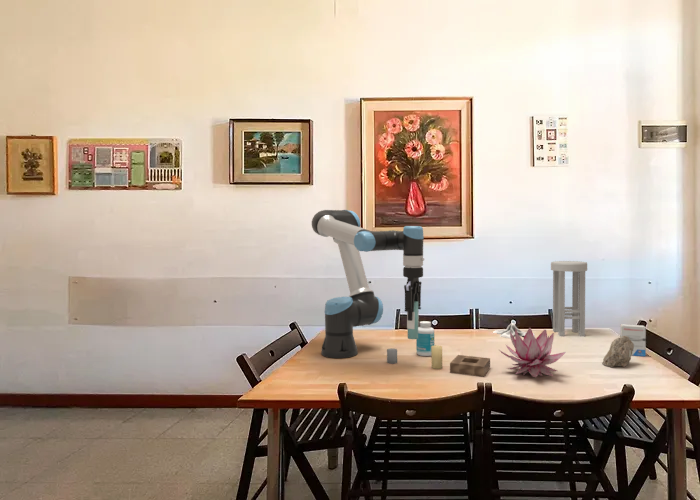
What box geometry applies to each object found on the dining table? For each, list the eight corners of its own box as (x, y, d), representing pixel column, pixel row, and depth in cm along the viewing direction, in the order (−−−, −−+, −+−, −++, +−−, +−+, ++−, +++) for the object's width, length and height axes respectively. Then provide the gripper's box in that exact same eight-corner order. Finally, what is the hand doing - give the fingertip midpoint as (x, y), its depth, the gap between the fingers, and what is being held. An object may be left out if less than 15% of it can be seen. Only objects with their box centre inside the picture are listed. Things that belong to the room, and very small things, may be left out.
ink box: (643, 353, 191) (644, 325, 191) (645, 356, 187) (646, 327, 186) (619, 351, 195) (620, 323, 194) (621, 354, 190) (621, 325, 190)
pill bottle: (434, 357, 191) (434, 324, 190) (415, 356, 192) (415, 323, 192) (434, 352, 198) (434, 320, 198) (417, 351, 200) (416, 320, 199)
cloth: (543, 338, 222) (543, 325, 222) (507, 341, 218) (507, 328, 218) (516, 329, 244) (516, 317, 243) (483, 331, 240) (483, 319, 239)
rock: (627, 354, 167) (604, 343, 173) (619, 377, 172) (597, 366, 177) (642, 340, 175) (620, 330, 181) (634, 362, 180) (612, 352, 185)
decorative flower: (559, 387, 153) (559, 341, 152) (493, 377, 164) (493, 334, 164) (568, 369, 171) (568, 328, 170) (508, 362, 182) (508, 323, 182)
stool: (547, 330, 238) (547, 261, 236) (579, 330, 236) (580, 260, 234) (556, 336, 222) (556, 263, 221) (591, 337, 220) (591, 263, 219)
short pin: (385, 363, 184) (385, 350, 183) (389, 360, 187) (389, 348, 187) (395, 364, 182) (394, 351, 181) (398, 361, 185) (398, 349, 185)
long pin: (406, 338, 179) (406, 302, 179) (409, 336, 183) (409, 300, 182) (416, 339, 178) (416, 303, 177) (419, 337, 181) (419, 301, 180)
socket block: (450, 372, 170) (449, 362, 170) (458, 363, 181) (458, 354, 181) (483, 376, 165) (483, 366, 164) (490, 367, 175) (490, 358, 175)
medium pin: (430, 368, 175) (430, 347, 175) (433, 365, 179) (433, 344, 179) (440, 369, 174) (440, 348, 173) (443, 366, 177) (443, 345, 177)
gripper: (415, 269, 169) (414, 333, 171) (429, 265, 185) (428, 324, 186) (395, 268, 173) (395, 331, 174) (411, 264, 188) (410, 322, 189)
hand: (412, 327), depth 180 cm, fingers closed on long pin, 4 cm apart
